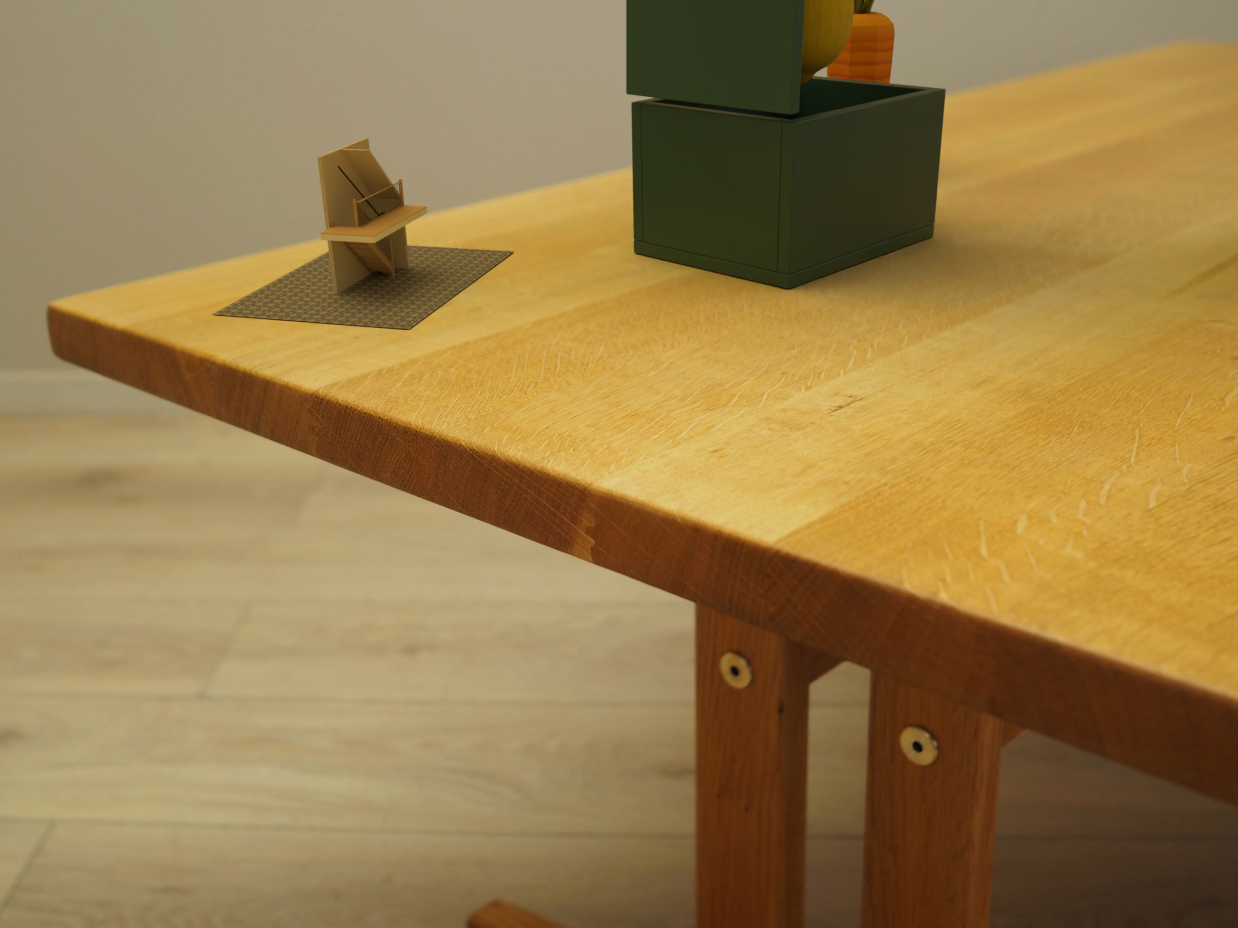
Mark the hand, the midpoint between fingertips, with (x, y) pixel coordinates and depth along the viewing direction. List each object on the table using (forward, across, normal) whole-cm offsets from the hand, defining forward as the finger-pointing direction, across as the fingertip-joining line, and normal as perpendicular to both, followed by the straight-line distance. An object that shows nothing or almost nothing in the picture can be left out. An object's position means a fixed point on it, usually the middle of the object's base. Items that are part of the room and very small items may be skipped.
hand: (805, 20), depth 71 cm
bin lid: (-4, -8, 0) cm, 9 cm away
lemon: (+4, 0, 0) cm, 4 cm away
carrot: (+13, +19, +9) cm, 25 cm away
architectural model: (+13, -22, +13) cm, 29 cm away
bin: (+13, -1, 0) cm, 13 cm away
